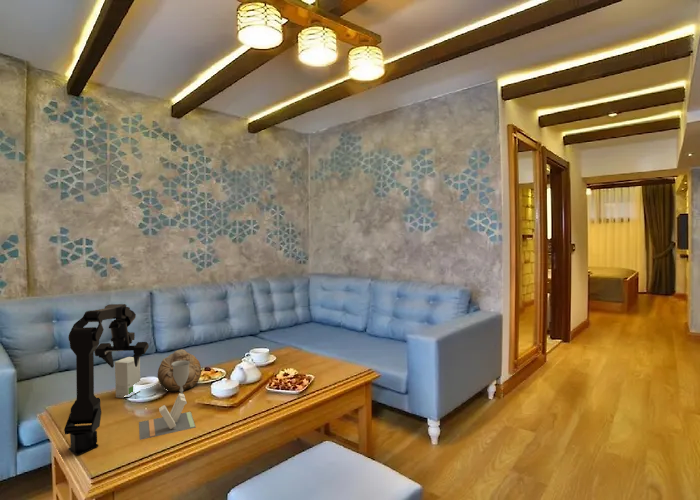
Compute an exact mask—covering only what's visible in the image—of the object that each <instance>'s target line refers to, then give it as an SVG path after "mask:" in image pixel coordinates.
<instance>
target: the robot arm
mask: <svg viewBox="0 0 700 500" xmlns="http://www.w3.org/2000/svg"><path fill="white" fill-rule="evenodd" d="M136 317H137V315H136V312H134V311H133V309H131V308H130V306H127V304H125V303H117V304H115V303H114V304H113V303H111V304H106V305H105V306H104V308H101V309H100V308H99V309H95V310H87V311H85V312H84V314H83V316H82V317H81V318H80V319H79V320H78V321H76V322H75V323H74V324H73V325H72V327H71V329H70V331H69V333H68V341H69V348H70V349H71V351H72V352H73V353H74V355H75V357H76V358H75V360H76V362H75V363H76V367H75V368H76V369H75V371H76V373H75V374H76V375H75V376H76V378H75V380H76V381H75V382H76V399H75V400H74V402H73V403H72V406H71V407H70V413H69V415H68V417H67V421H66V423H65V426H64V429H63V432H64V435H69V437H70V438H69V439H70V441H69V442H70V447H69V448H68V451H69V452H71V453H73V454H74V455H76V456H80V455H82V454H85V453H87V452H89V451H91V450H93V449H96V448H98V447H99V443H98V431H97V430H98V428H99V427H100V425H101V417H102V407H101V398H100V397H96V396H95V393H94V391H95V383H94V382H95V380H94V379H95V378H94V377H95V373H94V372H95V369H94V367H95V365H94V363H95V362H94V361H95V360H94V356H95V357H98V358H99V359H102V360H103V361H105V363H107V364H108V366H110V367H111V368H112V369H113V368H115V361H114V358H113V352H126V351H127V352H128V351H129V352H130V351H132V352H133V357H134V363H135V367H137V365H138V362H139V358H140V359H141V357H142V356H143V355H145V354H146V352H147V350H148V349H149V346H150V345H149V343H148V342H147V341H137V342H136V344H135V345H134V344H133V345H132V343H133V341H135V337H136V335H135V332H130V331H129V329H128V328H129V326H131V324H132V323H133V321H134V320H135V319H136ZM106 320H112V321H110V324H109V325H108V329H110V332H111V338H110V342H112V343H110V342H103V343H101V342H100V339H101V337H102V336H103V335H102V334H103V333H104V326H103V324H102V323H103V321H106ZM89 323H98V325H97V326H94V327H93V326H91V327H86V326H87V325H88V324H89Z"/></svg>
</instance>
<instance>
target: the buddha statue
mask: <svg viewBox="0 0 700 500" xmlns="http://www.w3.org/2000/svg"><path fill="white" fill-rule="evenodd" d="M181 360H186V361H190V364H189V376H188V379H187V381H186V383H185V385H183V392H184V391H186V390H189V389H192V388H193V387H195V386H197V384H198V382H199V380H200V378H201V375H202V366H201V363H200V361H199V359H197V357H196V356H195V355H194V354H193V353H191V354H190V352H188V351H186V350H185V349H178V350H175V351H174V352H173V353H170V354H169V355H168V356H167V357H164V358H162V361H161V362H160V364H159V366H158V370H157V379H158V382H159V383H160V385H161V386H162V388H163V389H164V388H165V389H167V390H168V391H167V390H166V391H167V392H171V393H180V391H179V390H180V386H178V385H177V383H176V381H175V379H174V377H173V366H172V363H173V362H176V361H181ZM165 389H164V390H165Z"/></svg>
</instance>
